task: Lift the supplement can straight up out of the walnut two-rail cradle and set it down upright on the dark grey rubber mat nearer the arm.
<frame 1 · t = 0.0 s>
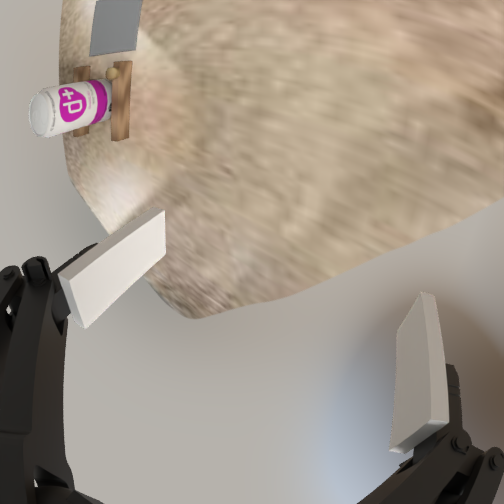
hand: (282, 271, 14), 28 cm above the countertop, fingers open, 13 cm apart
mat: (114, 23, 35), on the countertop
supplement can: (105, 99, 44), on the countertop
cradle: (105, 99, 44), on the countertop
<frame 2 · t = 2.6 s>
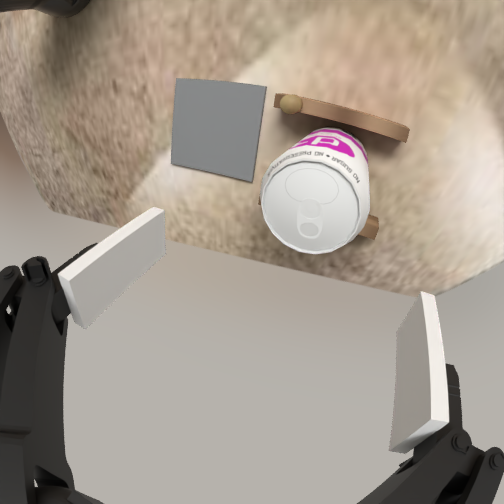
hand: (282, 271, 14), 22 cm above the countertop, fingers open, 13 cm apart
mat: (214, 126, 35), on the countertop
supplement can: (332, 160, 32), on the countertop
cradle: (332, 161, 32), on the countertop
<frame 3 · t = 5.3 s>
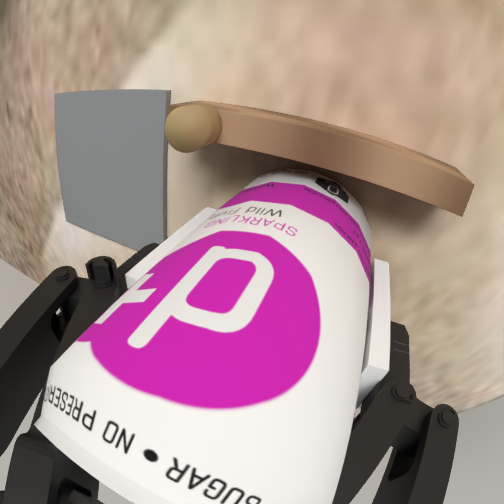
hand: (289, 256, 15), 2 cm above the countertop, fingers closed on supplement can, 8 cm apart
mat: (103, 168, 20), on the countertop
supplement can: (300, 234, 17), on the countertop, touching gripper
cradle: (299, 235, 17), on the countertop
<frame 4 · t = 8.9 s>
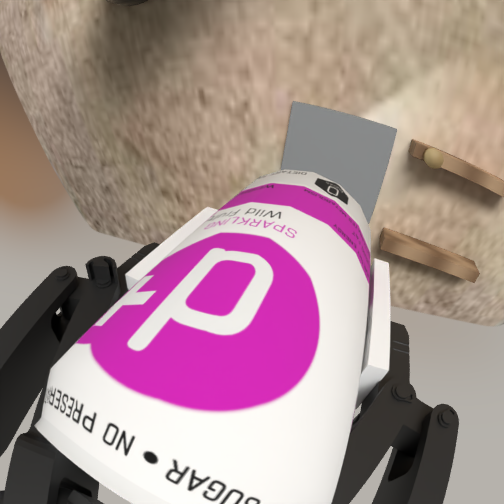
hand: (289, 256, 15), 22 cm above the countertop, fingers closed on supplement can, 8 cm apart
mat: (334, 162, 32), on the countertop
supplement can: (300, 235, 17), point 19 cm above the countertop, touching gripper
cradle: (447, 210, 30), on the countertop
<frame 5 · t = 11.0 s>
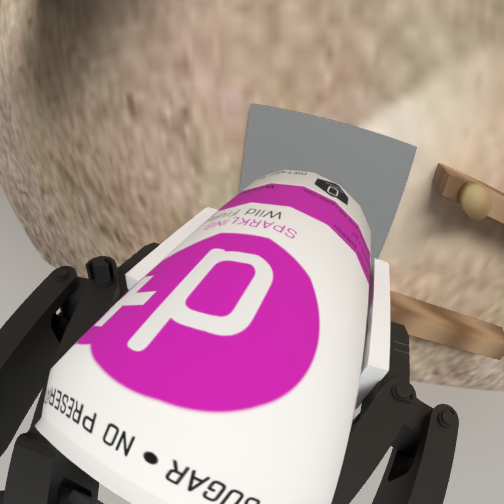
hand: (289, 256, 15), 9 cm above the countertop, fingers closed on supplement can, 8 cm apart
mat: (316, 197, 22), on the countertop
supplement can: (300, 235, 17), point 6 cm above the countertop, touching gripper
cradle: (478, 266, 19), on the countertop
when the fingers open (5 cm above the countertop, at t = 12.7 s): supplement can drops 2 cm, resting on mat.
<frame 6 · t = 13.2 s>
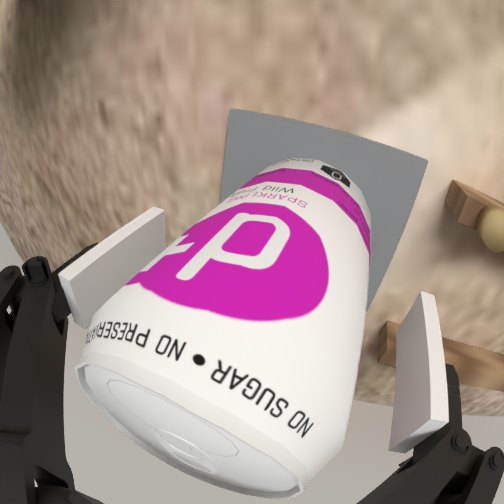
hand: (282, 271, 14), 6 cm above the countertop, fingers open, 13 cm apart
mat: (308, 218, 19), on the countertop
supplement can: (307, 218, 19), resting on mat
cradle: (490, 295, 16), on the countertop
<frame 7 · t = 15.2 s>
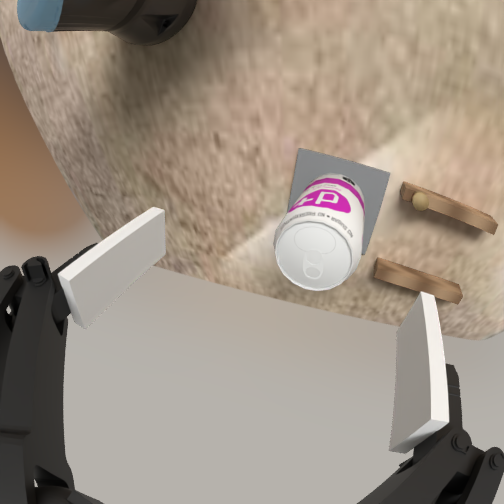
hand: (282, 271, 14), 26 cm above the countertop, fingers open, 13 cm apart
mat: (334, 202, 38), on the countertop
supplement can: (334, 201, 38), resting on mat
cradle: (434, 241, 35), on the countertop
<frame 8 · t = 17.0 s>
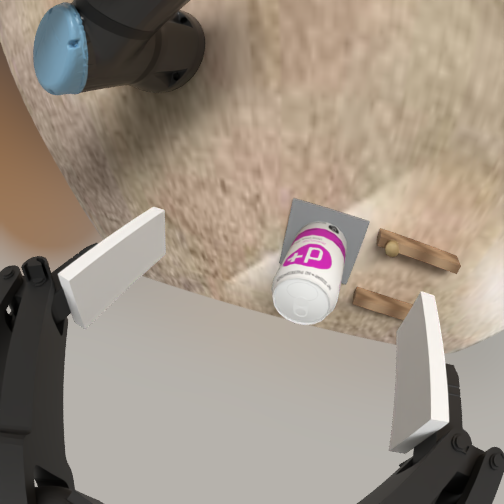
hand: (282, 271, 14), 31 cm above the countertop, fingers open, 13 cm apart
mat: (322, 242, 47), on the countertop
supplement can: (321, 242, 46), resting on mat
cradle: (405, 275, 44), on the countertop
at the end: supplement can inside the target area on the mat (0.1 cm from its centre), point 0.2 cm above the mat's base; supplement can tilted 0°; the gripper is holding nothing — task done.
